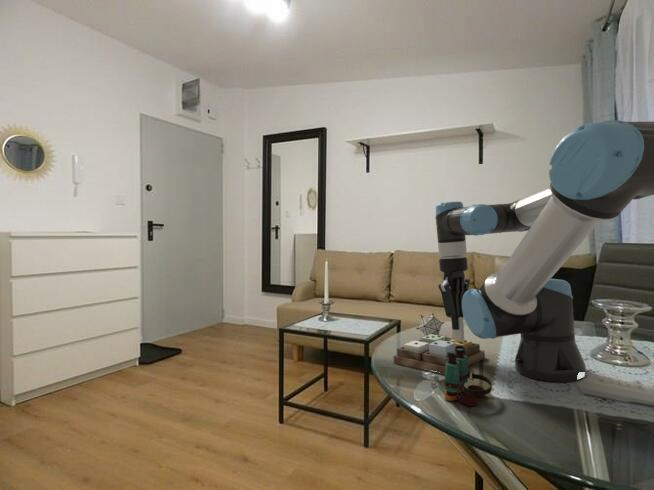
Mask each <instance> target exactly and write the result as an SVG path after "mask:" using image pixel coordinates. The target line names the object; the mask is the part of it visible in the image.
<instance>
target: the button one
mask: <svg viewBox="0 0 654 490" xmlns="http://www.w3.org/2000/svg"><path fill="white" fill-rule="evenodd" d="M403 346H404V350H409V351H414V352H422V351H424V350H426V349H429V343H426V342H420V341H419V340H413V341H412V340H411V341H409V342H407V343H404V344H403Z"/></svg>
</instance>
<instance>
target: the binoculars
mask: <svg viewBox="0 0 654 490" xmlns="http://www.w3.org/2000/svg"><path fill="white" fill-rule="evenodd" d="M455 351H456V354H454V353H449V352H447V357H448V361H447V362H446V366H445V370H446V371H445V375H444V376H445V377H444V380H443V382H444V383H443V384H444V390H445V392H444V400H445V401H449V402H450V401H451V402H452V401H457V400H459V401H460V402H461V403H462V404H464V405H467V406H471V407H477V406H478V404H479V400H481V399H484V398H485V396H486V395H488V394H490V393H491V391H492V387H493V386H492V381H491V380H490V379H489V378H488V377H487V376H484V375H481V374H479V373H477V374H476V373H474V371H473V370H471V371H469V367H468V358H467V356H465V355H464V352H465V347H464V346H461V345H458V346H456V347H455ZM470 377H471V378H470ZM474 379H475V380H481V381H483V382H485V383H487V384H488V385H489V387H488V388H486V389H485V388H483V387H482V386H480V385H475V384H472V385H468V386H465V384H466V383H468V382H469V380H471V381H474ZM459 394H460V395H459Z"/></svg>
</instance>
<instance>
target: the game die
mask: <svg viewBox="0 0 654 490" xmlns="http://www.w3.org/2000/svg"><path fill="white" fill-rule="evenodd" d="M420 317H421V319H420V321H419V322H420V323H419V325H418V327H416V330H419V331H421V333H422V334H424V335H425V336H427V335H430V334H433V335H440V332H441V328H442V326H443V324H445V322H444V321H443V322H441V321H440V319H438V318H437V317H436V316H435V315H434V313H432V314H431V315H422V314H420Z"/></svg>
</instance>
